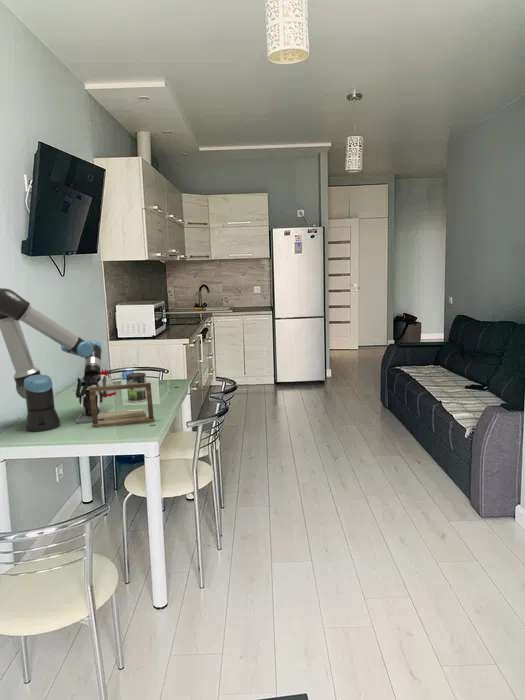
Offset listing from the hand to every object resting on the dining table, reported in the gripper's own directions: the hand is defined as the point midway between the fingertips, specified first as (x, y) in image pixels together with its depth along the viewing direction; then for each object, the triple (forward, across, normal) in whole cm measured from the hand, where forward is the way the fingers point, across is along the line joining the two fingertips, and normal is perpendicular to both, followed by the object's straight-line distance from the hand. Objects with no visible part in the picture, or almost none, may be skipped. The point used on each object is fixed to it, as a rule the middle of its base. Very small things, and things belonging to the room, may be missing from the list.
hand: (90, 408), depth 255 cm
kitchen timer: (-36, +2, -45) cm, 57 cm away
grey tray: (+2, 0, -7) cm, 7 cm away
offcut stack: (+10, -15, +3) cm, 18 cm away
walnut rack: (+11, -16, +2) cm, 19 cm away
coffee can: (-21, -19, -30) cm, 41 cm away
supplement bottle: (0, 0, -6) cm, 6 cm away
